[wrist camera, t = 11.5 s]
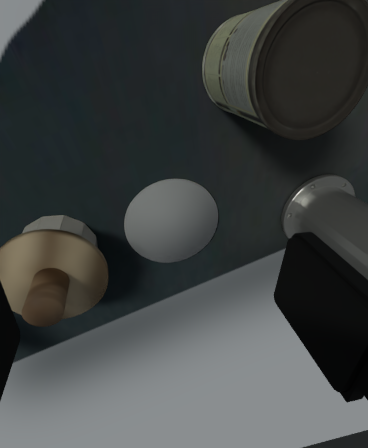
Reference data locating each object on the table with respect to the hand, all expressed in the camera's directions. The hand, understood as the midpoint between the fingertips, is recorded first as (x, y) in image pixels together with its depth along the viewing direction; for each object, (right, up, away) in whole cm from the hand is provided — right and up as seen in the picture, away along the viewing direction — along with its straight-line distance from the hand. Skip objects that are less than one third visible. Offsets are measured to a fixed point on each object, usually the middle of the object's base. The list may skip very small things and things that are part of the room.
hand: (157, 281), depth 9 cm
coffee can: (+8, +20, +24) cm, 32 cm away
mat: (-1, +2, +32) cm, 32 cm away
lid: (-15, -4, +25) cm, 30 cm away
